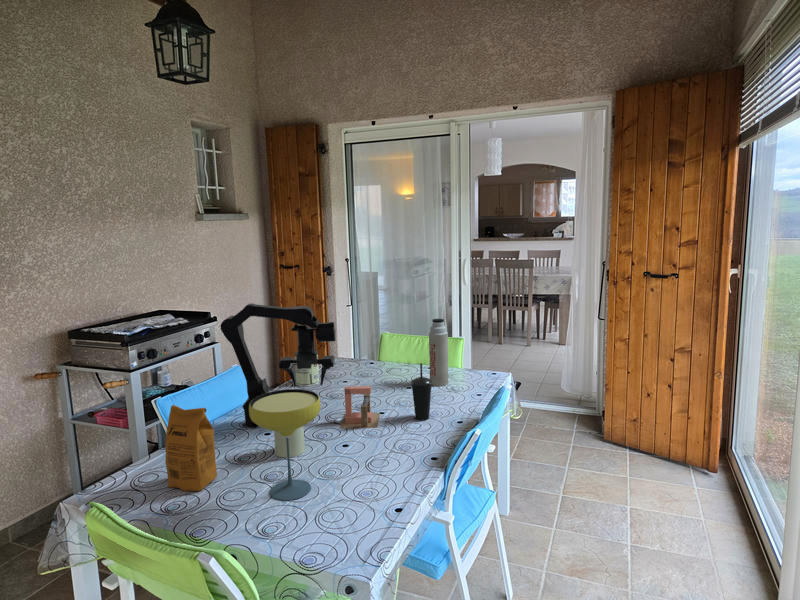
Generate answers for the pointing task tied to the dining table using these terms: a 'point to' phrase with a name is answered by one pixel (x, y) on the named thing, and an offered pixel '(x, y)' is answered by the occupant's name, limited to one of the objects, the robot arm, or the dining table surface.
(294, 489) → the cocktail glass
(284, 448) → the can
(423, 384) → the drinking cup
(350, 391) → the c link
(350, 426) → the stand
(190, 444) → the coffee package
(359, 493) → the dining table surface
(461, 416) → the dining table surface
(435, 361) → the thermos bottle
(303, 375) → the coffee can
